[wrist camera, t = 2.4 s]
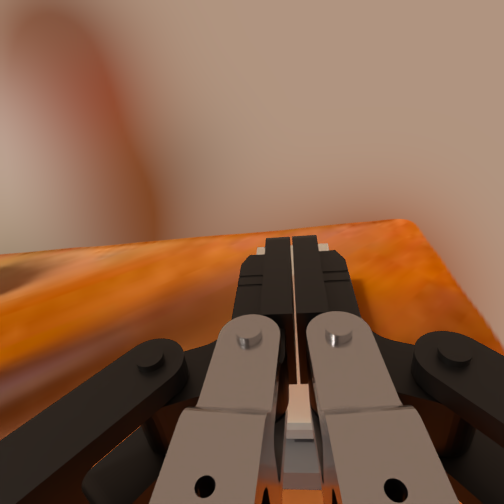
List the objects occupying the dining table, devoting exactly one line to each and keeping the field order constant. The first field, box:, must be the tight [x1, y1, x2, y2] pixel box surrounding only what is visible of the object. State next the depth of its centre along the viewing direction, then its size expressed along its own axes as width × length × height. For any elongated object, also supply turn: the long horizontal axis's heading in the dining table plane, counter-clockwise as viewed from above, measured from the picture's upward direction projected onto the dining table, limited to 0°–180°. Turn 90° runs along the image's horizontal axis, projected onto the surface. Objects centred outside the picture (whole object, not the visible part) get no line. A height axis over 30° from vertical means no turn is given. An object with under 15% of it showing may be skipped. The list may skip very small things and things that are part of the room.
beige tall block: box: [257, 243, 329, 439], centre depth 23 cm, size 5×4×13 cm
